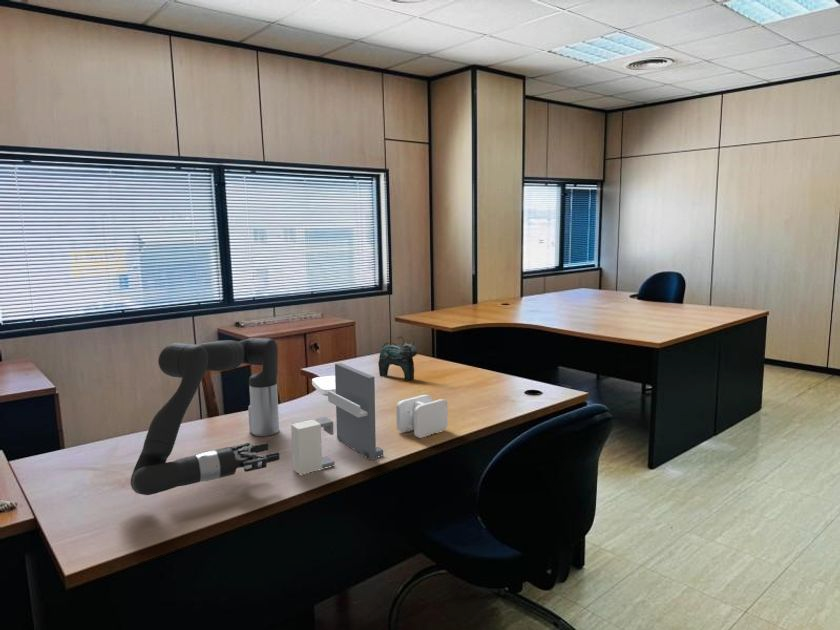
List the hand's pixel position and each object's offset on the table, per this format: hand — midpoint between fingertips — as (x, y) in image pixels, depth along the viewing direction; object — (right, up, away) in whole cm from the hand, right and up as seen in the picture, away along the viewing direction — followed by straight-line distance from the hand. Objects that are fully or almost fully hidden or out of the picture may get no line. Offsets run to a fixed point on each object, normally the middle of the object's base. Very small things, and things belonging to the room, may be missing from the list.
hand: (273, 450), depth 162 cm
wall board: (+20, -5, +23) cm, 30 cm away
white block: (+10, -7, +8) cm, 15 cm away
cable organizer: (+42, -3, +38) cm, 57 cm away
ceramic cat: (+31, +8, +108) cm, 113 cm away
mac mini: (+6, +6, +95) cm, 95 cm away
